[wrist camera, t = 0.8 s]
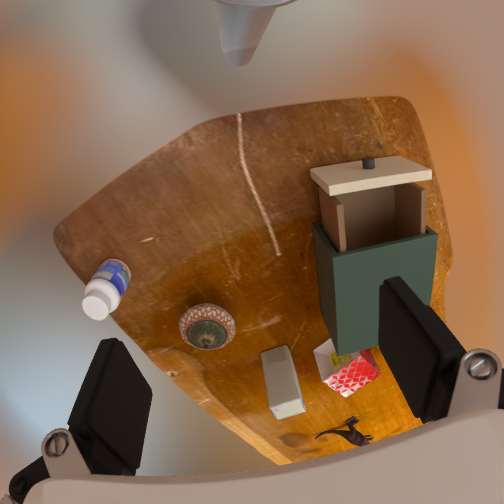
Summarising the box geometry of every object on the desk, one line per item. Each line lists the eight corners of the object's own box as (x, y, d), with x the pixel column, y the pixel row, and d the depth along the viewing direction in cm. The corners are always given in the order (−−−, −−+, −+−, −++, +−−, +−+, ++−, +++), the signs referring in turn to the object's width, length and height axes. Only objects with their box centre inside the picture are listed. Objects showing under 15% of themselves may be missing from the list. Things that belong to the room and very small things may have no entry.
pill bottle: (133, 287, 48) (117, 326, 40) (103, 286, 48) (82, 323, 39) (129, 257, 46) (109, 293, 37) (97, 256, 45) (73, 291, 37)
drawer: (308, 159, 40) (327, 175, 32) (397, 147, 40) (431, 159, 32) (321, 268, 48) (338, 302, 40) (400, 251, 47) (426, 279, 39)
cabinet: (311, 223, 45) (332, 257, 36) (401, 206, 45) (437, 233, 35) (321, 313, 53) (337, 356, 43) (398, 293, 52) (425, 331, 43)
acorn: (176, 288, 49) (166, 329, 40) (228, 278, 48) (228, 320, 40) (191, 328, 52) (186, 371, 44) (239, 320, 52) (241, 363, 43)
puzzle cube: (347, 325, 55) (360, 355, 47) (367, 345, 57) (381, 374, 50) (312, 350, 57) (321, 382, 50) (335, 368, 60) (345, 397, 52)
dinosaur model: (380, 453, 59) (322, 473, 63) (370, 416, 70) (317, 436, 73) (377, 448, 58) (317, 468, 61) (366, 410, 68) (312, 430, 72)
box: (267, 366, 58) (275, 421, 46) (260, 351, 56) (267, 408, 44) (294, 358, 57) (307, 412, 46) (287, 342, 55) (300, 398, 44)
